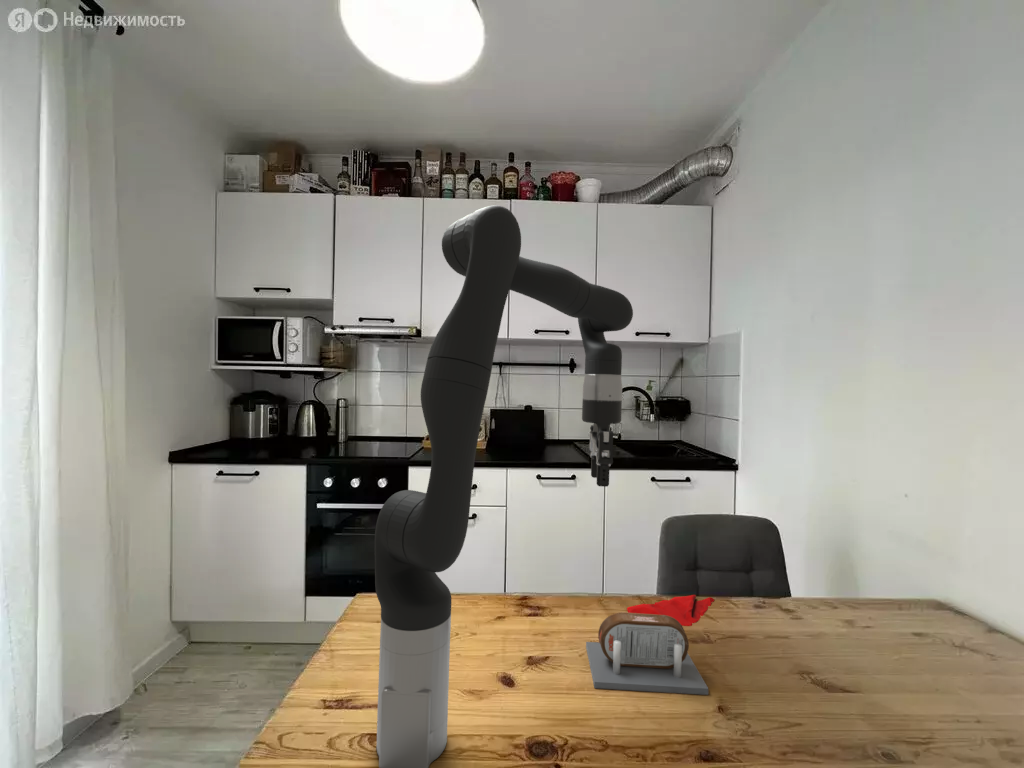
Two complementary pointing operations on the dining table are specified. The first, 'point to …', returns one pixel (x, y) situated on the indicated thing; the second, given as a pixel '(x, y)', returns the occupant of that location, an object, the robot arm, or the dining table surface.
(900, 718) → the dining table surface
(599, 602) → the dining table surface
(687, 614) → the cloth
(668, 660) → the tin
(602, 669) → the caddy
